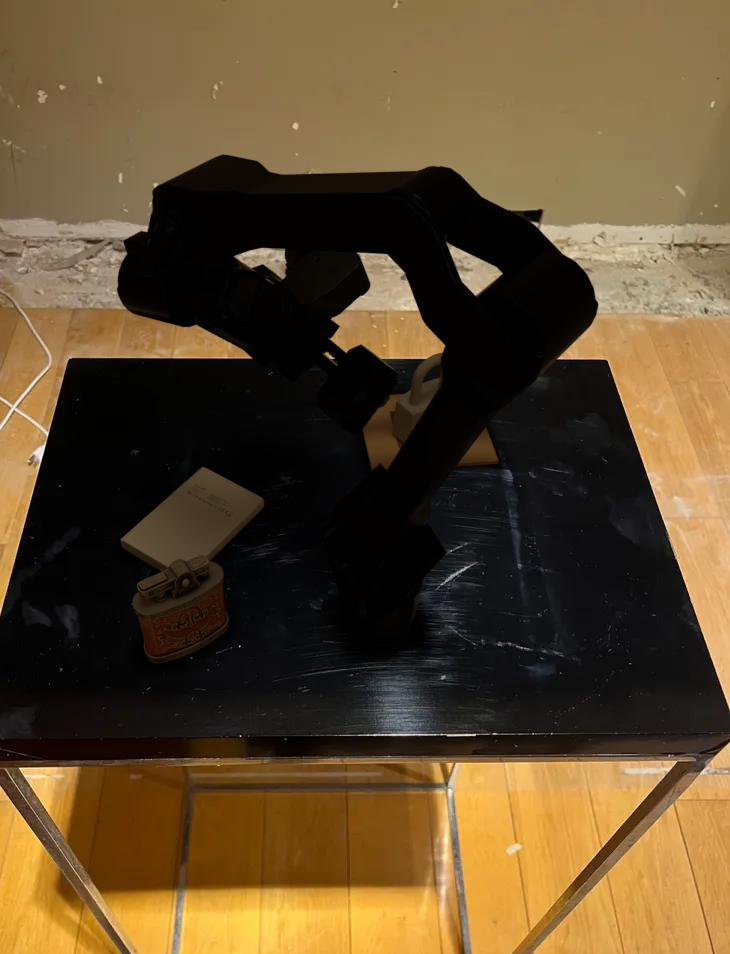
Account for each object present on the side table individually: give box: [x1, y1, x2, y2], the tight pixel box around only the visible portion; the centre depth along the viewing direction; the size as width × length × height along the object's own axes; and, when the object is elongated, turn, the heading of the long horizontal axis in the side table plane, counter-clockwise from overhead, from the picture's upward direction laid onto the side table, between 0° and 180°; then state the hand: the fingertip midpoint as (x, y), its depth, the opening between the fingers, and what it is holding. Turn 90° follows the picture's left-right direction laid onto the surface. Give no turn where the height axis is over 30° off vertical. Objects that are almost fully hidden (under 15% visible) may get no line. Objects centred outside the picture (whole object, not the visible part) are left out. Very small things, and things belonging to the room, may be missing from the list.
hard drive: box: [120, 466, 265, 572], centre depth 82 cm, size 2×8×12 cm
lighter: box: [132, 555, 230, 664], centre depth 71 cm, size 8×3×10 cm, turn 123°
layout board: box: [361, 393, 499, 472], centre depth 93 cm, size 12×14×1 cm
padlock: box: [392, 351, 443, 443], centre depth 89 cm, size 7×4×10 cm, turn 127°
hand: (355, 374), depth 78 cm, fingers open, 9 cm apart
